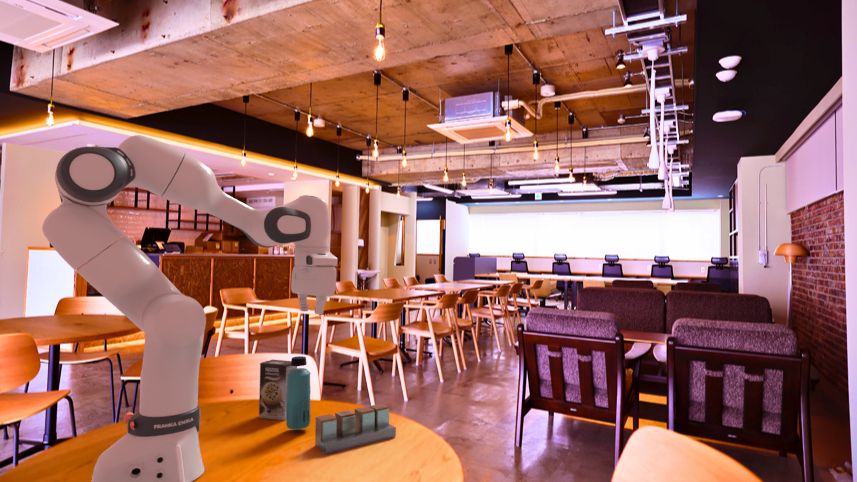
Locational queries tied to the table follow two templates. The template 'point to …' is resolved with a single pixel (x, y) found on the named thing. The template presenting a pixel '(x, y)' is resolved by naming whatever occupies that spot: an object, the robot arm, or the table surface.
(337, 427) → the brown-topped upright block
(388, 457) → the table surface
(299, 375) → the beverage bottle
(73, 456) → the table surface
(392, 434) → the grey block holder
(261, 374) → the coffee box
